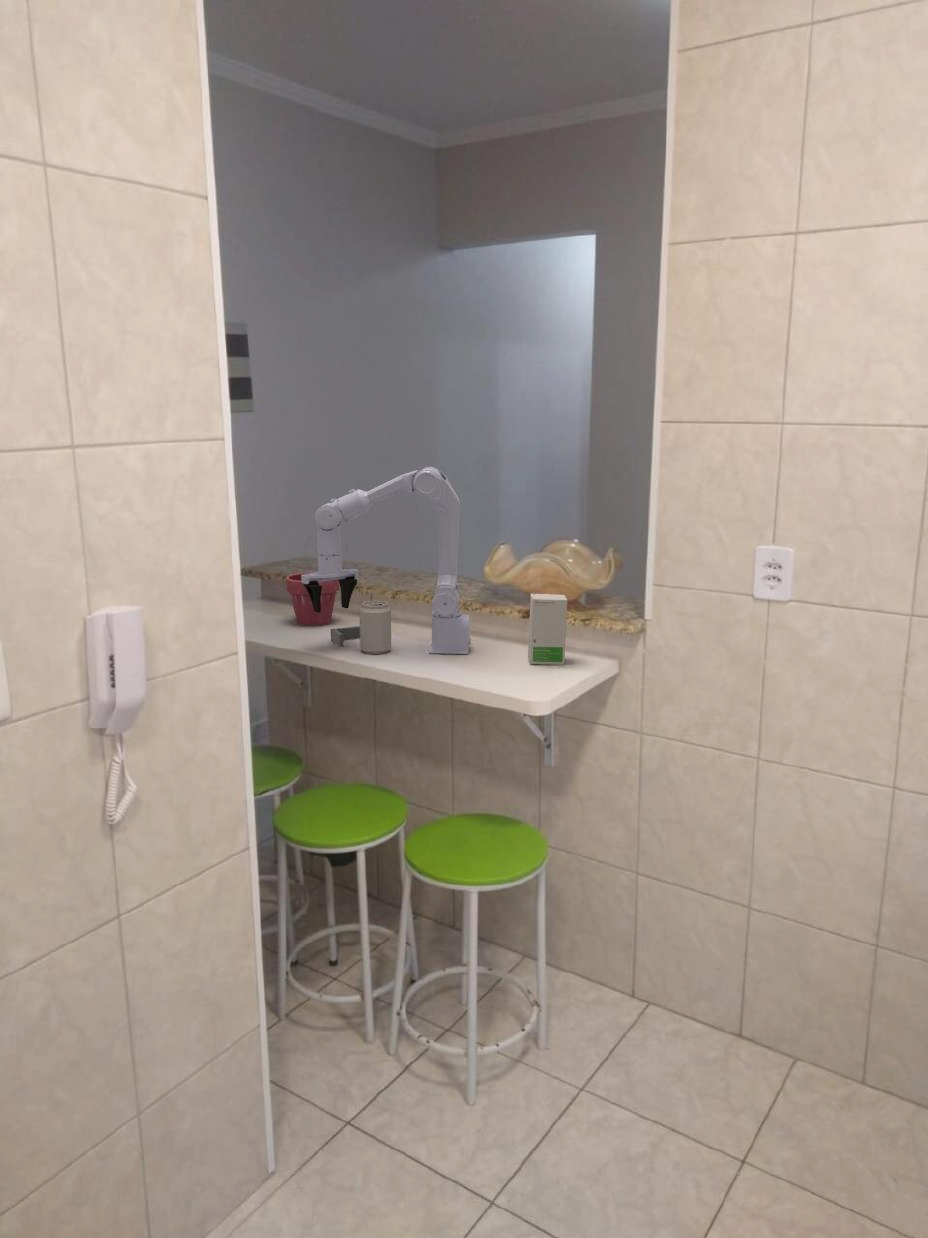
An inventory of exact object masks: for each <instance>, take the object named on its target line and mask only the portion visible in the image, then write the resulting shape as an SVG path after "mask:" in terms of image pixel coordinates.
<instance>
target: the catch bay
mask: <svg viewBox="0 0 928 1238" xmlns="http://www.w3.org/2000/svg"><path fill="white" fill-rule="evenodd" d="M355 639H360V625H355V626H354V625H353V626H347V627H337V628H330V641H331V642H332V643H335V645H337V646H338V647H344V645H345V644H344V643H345V642H344V641H347V640H355Z"/></svg>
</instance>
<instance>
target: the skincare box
mask: <svg viewBox="0 0 928 1238" xmlns="http://www.w3.org/2000/svg"><path fill="white" fill-rule="evenodd" d="M529 596H530V604H529V626H528V647H527V658H528V662H529V663H530V664H529V665H553V666H554V665H555V666H557V665H558V666H565V657H566V641H567V640H566V639H567V638H566V636H567V635H566V634H567V617H568V616H567V615H568V598H567V597H566V595H565V594H553V593H530V595H529Z"/></svg>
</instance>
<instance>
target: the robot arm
mask: <svg viewBox="0 0 928 1238" xmlns="http://www.w3.org/2000/svg"><path fill="white" fill-rule="evenodd" d="M401 492H402V493H409V494H413V493H414V492H416V494H418V495H419V496H421V497H423V498H425V499H426V500H429V501H431V503H433V504H434V506H436V507H437V508H438V510H439V513H440V514H439V531H438V532H439V536H438V557H437V558H438V561H437V565H438V566H437V580H436V581H437V582H436V590H435V593H434V596H433V598H432V600H431V607H432V609H433V610H432V611H431V644H430V647H429V649H428V653H429V654H442V655H443V654H445V655H446V654H450V655H451V654H452V655H453V654H454V655H457V654H458V655H460V654H461V655H468V654H469V652H470V648H471V647H470V646H471V644H472V640H471V639H472V638H471V633H470V631H471V617H470V614H463V613H462V610H460V608H459V603H460V601H461V597H462V596H461V591H460V589H459V586H458V557H459V556H458V555H459V537H460V536H459V534H460V533H459V531H460V513H461V512H460V511H461V510H460V509H461V502H460V498H459V496H458V494H457V493H456V491H455V490H454V488H453V486H452V484H451V483H450V481H449V479H448V477H447V475H445V474H444V473H443V472H442V471H441V470H439V469H438V468H436V467H434V466H425V467H423V468H421V469H420V470H419V469H416V470H413V471H410V472H407V473H404V474H401V475H398V476H397V477H395V478H393V479H391V480H389V481H385V482H384V483H382V484H380V485H379V486H376V487H374V488H372V489H370V490H368V491H366V490H362V489H360V488H358V489H355V488H352V489H350V490H348V493H347V494H345V495H343V496H341V497H339V498H335V497H334V498H332V499H330V502H328V503H325V504H322V506H320V507H319V508H318V509H316V511H315V512H314V522H315V524H316V525H317V527H316V528H317V538H316V539H317V567H318V568H317V569H318V571H313V572H314V573H310V574H305V575H301V580H302V583H304V587H305V588H306V590H307V592H308V594H309V596H310V598H311V601H312V605H313V608H314V611H315V612H317V613H319V612H321V591H322V586H321V585H319V583H318V582H321V581H329V580H337V579H339V590H340V599H341V600H340V603H341V604H340V605H341V608H343V609H349V605H350V602H351V598H352V595H353V592H354V590H355V588H356V586H357V585H358V579H357V578H359V577H360V576H359V575H360V574H359V569H356V568H349V569H347V568H346V569H343V552H342V551H343V549H342V545H343V544H342V534H341V533H342V532H341V530H342V529H341V524H342V522H343V523H347V522H348V521H351V520H354V519H355V518H357V517H360V516H362V515H364V514H366V513H369V512H370V511H371V507H372V505H373V504H375V503H378V502H380V501H382V500H385V499H387V498H390V497H392V496H395V495H397V494H399V493H401Z"/></svg>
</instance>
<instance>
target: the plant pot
mask: <svg viewBox="0 0 928 1238" xmlns="http://www.w3.org/2000/svg"><path fill="white" fill-rule="evenodd" d="M314 572H315V571H307V572H297V573H292V574H289V575H288V576H286V578H285V579H286V581H285V582H286V586H285V587H286V591H287V592H288V593H289V595H290V598H291V599H290V600H291V603H292V607H293V610H294V611H293V612H294V615H295V618H296V623H297V624H298V625H301V626H307V627H308V626H309V627H314V626H315V627H317V626H324V625H328V624H330V623H331V622H332V618H333V612H334V606H335V601H336V594H337V591H339V590H340V583H339V579H337V580H329V581H321V582H318V583H319V585H321V586H322V591H321V612H319V613H317V612H315V611H314V608H313V605H312V601H311V598H310V596H309V594H308V592H307V590H306V588H305V587H304V583H302V580H301V575H305V574H310V573H314Z"/></svg>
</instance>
